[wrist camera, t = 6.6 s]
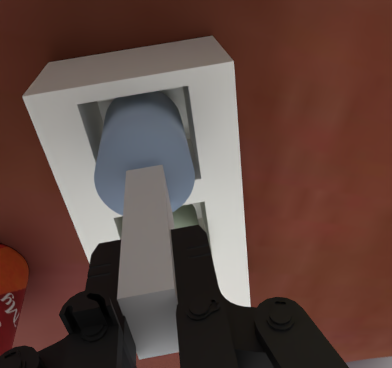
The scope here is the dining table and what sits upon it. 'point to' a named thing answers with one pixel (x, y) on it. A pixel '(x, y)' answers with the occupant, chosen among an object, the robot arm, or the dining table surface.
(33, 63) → the dining table surface
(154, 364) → the dining table surface
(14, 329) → the coffee cup
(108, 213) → the panel
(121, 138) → the button one
